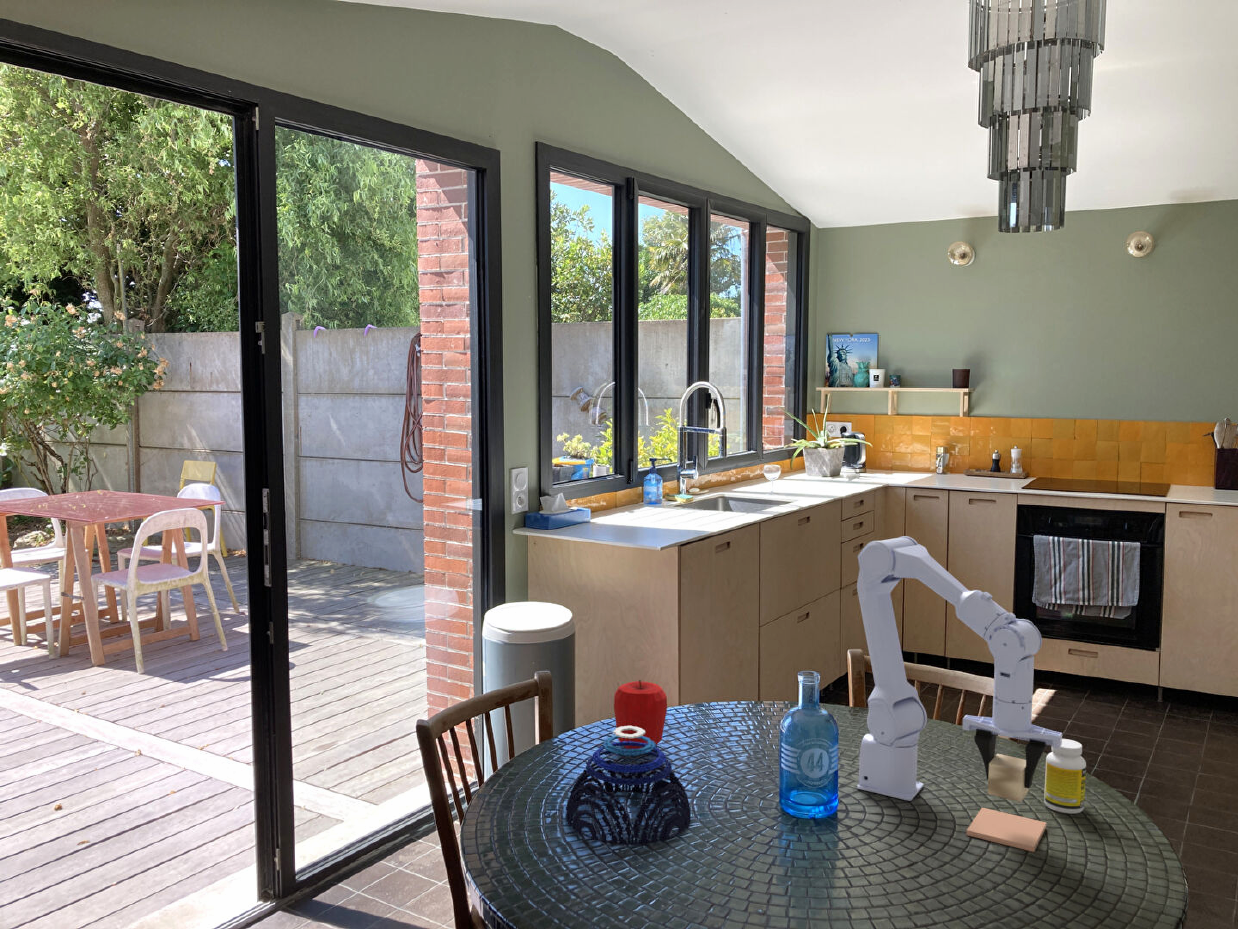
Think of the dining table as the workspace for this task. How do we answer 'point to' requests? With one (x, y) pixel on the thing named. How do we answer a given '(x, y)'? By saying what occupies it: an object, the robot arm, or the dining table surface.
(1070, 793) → the pill bottle
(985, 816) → the coaster
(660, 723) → the apple
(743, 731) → the dining table surface
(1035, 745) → the robot arm
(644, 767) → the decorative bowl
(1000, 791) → the maple cube
